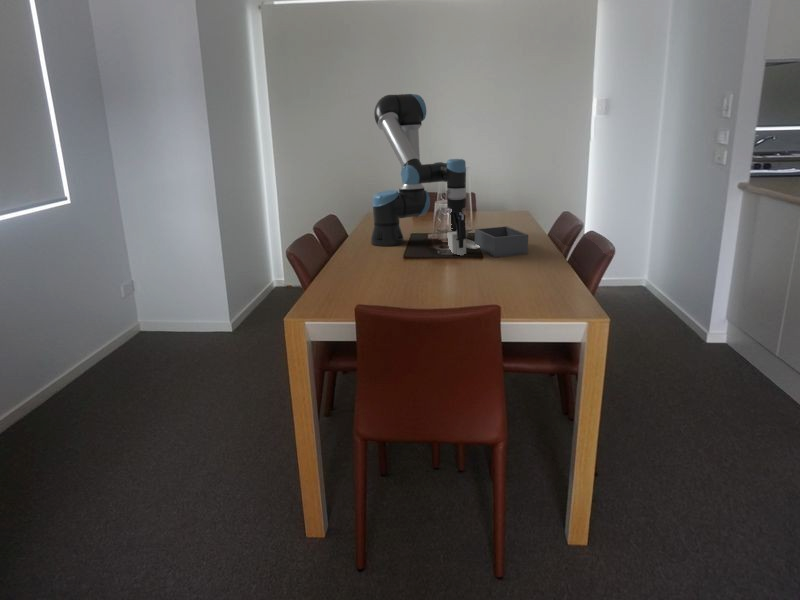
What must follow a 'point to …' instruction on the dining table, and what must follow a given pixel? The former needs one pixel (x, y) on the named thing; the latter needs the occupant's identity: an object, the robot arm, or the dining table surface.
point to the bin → (501, 241)
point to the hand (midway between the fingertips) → (456, 253)
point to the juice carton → (454, 242)
